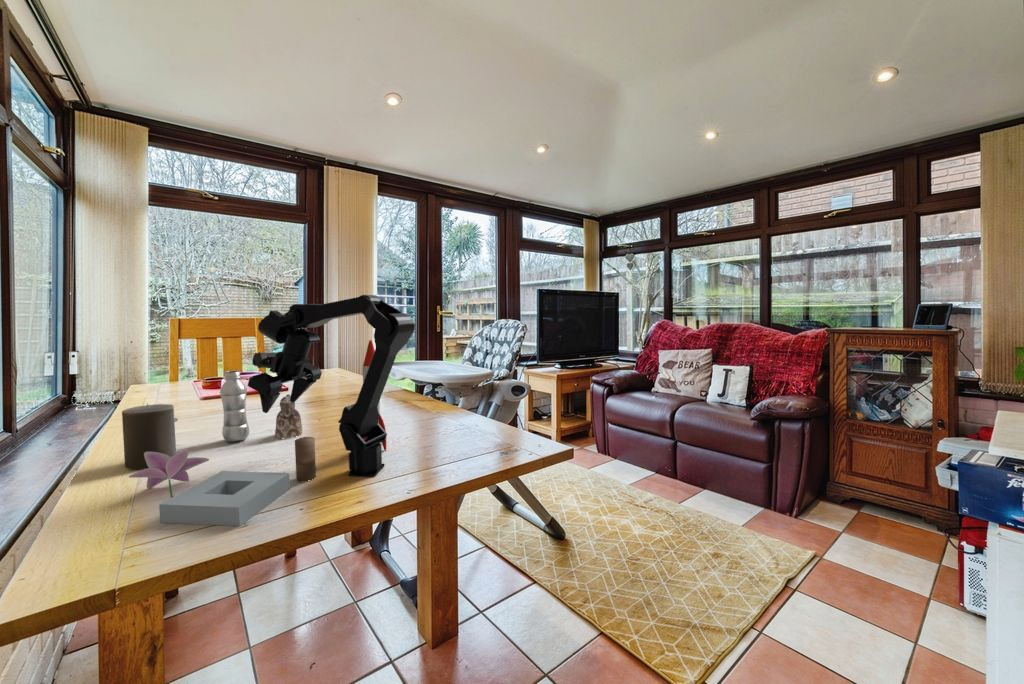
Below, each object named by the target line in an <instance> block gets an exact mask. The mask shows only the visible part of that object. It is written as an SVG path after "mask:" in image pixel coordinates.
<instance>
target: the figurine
mask: <svg viewBox="0 0 1024 684" xmlns="http://www.w3.org/2000/svg"><path fill="white" fill-rule="evenodd" d="M290 398H291V394H286V395H285V396H283V397H282V398H281V399H280V401H279V408H280V410H279V412H278V413H277V415H276V418H275V431H274V434H275V438H277V437H278V438H277V439H280V438H290V439H292V438H291V437H294V438H297V437H296V436H298V437H300V436H302V435H303V424H302V418H301V414H300V412H299V410H297V409H295V407H296V401H295V402H294V403H293V402H291V401H290ZM301 434H302V435H301ZM299 435H300V436H299Z"/></svg>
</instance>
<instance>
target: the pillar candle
mask: <svg viewBox="0 0 1024 684" xmlns="http://www.w3.org/2000/svg"><path fill="white" fill-rule="evenodd" d="M121 418H122V419H121V422H122V434H123V435H122V436H123V439H122V440H123V451H124V452H123V454H124V455H123V457H124V467H125V468H126V469H127V468H128V469H127V470H132V469H134V470H144V469H147V468H149V467H148V465H147V463H146V460H145V457H144V453H145V452H158V453H162V454H166V455H168V456H170V457H172V456H174V455H175V454H177V445H176V441H177V440H176V425H175V407H174V405H173V404H169V403H168V404H167V403H166V404H164V403H163V404H162V403H161V404H148V402H146V405H138V406H133V407H130V408H126V409H123V410H121Z"/></svg>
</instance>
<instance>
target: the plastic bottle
mask: <svg viewBox="0 0 1024 684" xmlns="http://www.w3.org/2000/svg"><path fill="white" fill-rule="evenodd" d="M241 378H242V376H241V371H240V370H229V371H225V372H224V380H225V381H224V383H223V384H222V385H221V386H220V390H219V394H220V399H221V403H222V409H223V426H222V432H221V434H222V438H223V440H224V441H225V442H231V443H233V442H239V441H244V440H246V439H247V438H248V437H249V435H250V426H249V424H248V419H247V414H246V413H247V411H246V404H247V402H246V400H247V386H246V384H245V383H244V382H243V381H242V380H241Z"/></svg>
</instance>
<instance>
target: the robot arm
mask: <svg viewBox="0 0 1024 684" xmlns="http://www.w3.org/2000/svg"><path fill="white" fill-rule="evenodd" d="M362 314H363V316H364V318H365V319H366V322H367V323H368V325H370V326H371V327H372V328H373V329H374V333H373V339H374V343H375V344H374V345H375V348H374V350H375V352H374V355H373V357H372V360H371V363H370V366H369V368H368V371H367V374H366V377H365V379H364V382H363V381H362V385H361V388H360V391H359V394H358V396H357V400H356V402H355V403H353V404H351V405H350V404H349V405H347V406H344V408H343V410H342V414H341V416H340V419H339V420H338V424H339V428H338V430H339V433H340V436H341V439H342V442H343V445H344V448H345V450H346V451H348V452H349V453H348V469H349V471H348V472H347V475H348V476H356V477H376V476H377V475H378V474H379V472H380V471H382V469H383V468H384V467H385V466H386V465H385V463H383V461H382V458H383V457H382V454H383V453H382V443H381V442H384V441H385V439H386V440H387V435H388V433H387V431H386V432H385V431H384V429H383V428H382V427H381V426H380V424H379V423H378V420H379V413H378V408H377V407H378V403H379V401H380V402H381V397H382V395H383V392H384V390H385V387H386V385H387V382H388V379H389V378H390V377H389V376H390V374H391V371H392V369H393V366H394V363H395V361H396V358H397V356H398V353H399V352H400V351H401V350H402V349H403V348H404V347H405V346H406V345H407V344H408V342H409V340H410V338H411V337H412V335H413V334H414V332H415V328H416V327H415V326H416V325H415V323H414V319H413V318H412V317H411V316H410V315H409V314H408V313H404V312H402V311H400V309H398V308H396V307H394V306H393V305H391V304H389V303H387V302H386V301H384V300H383V299H381V297H379V296H377V295H376V294H375V295H374V294H371V295H370V294H362V295H360V296H356V297H352V298H347V299H342V300H337V301H331V302H327V303H321V304H320V303H294V304H291V306H289V310H288V311H287V312H285V313H284V314H283V313H281V312H280V311H278V310H269V313H268V315H266V316H264V317H263V318H262V319H261V321H260V322H258V325H257V330H258V332H259V333H260V334H261V335H262V336H265V337H267V338H268V339H270V340H271V341H272V342H275V343H276V344H279V345H282V344H283V347H282V350H281V351H278V352H272V351H270V352H261V351H260V352H255V353H254V354H253V357H252V365H253V366H254V367H257V368H258V369H262V368H263V369H269V372H271V373H273V374H274V373H275V375H276V376H273V375H271V374H269V373H267V372H263V373H260V374H256V375H253V376H249V378H248V382H247V387H249V388H250V389H252V390H254V391H256V392H258V395H259V397H260V404H261V410H262V412H263V413H264V414H268V413H269V412H270V410H271V409H272V407H273V405H274V404H275V402H276V401H277V399H279V397H280V395H281V390H282V389H283V388H282V387H283V385H284V384H286V383H290V382H292V381H293V383H292V389H291V392H290V396H291V398H290V401H291V402H293V403H294V402H295V403H296V401H297V400H298V399H299V398H300V397H301V396H303V394H304V393H305V392H306V391H307V390H309V388H311V386H312V385H314V384H315V383H316V382H317V381H318V380H320V379H321V376H322V374H323V372H322V370H321V367H318V366H316V365H314V364H313V363H310V361H311V358H310V357H308V354H309V352H310V349H311V346H312V343H313V344H314V343H320V342H321V339H320V336H318V334H317V331H313V330H312V331H309V330H308V328H319V327H321V326H324V325H325V324H328V323H330V321H333V320H335V319H342V318H346V317H350V316H351V317H352V316H356V315H362ZM366 436H367V438H365V439H362V438H364V437H366Z"/></svg>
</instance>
